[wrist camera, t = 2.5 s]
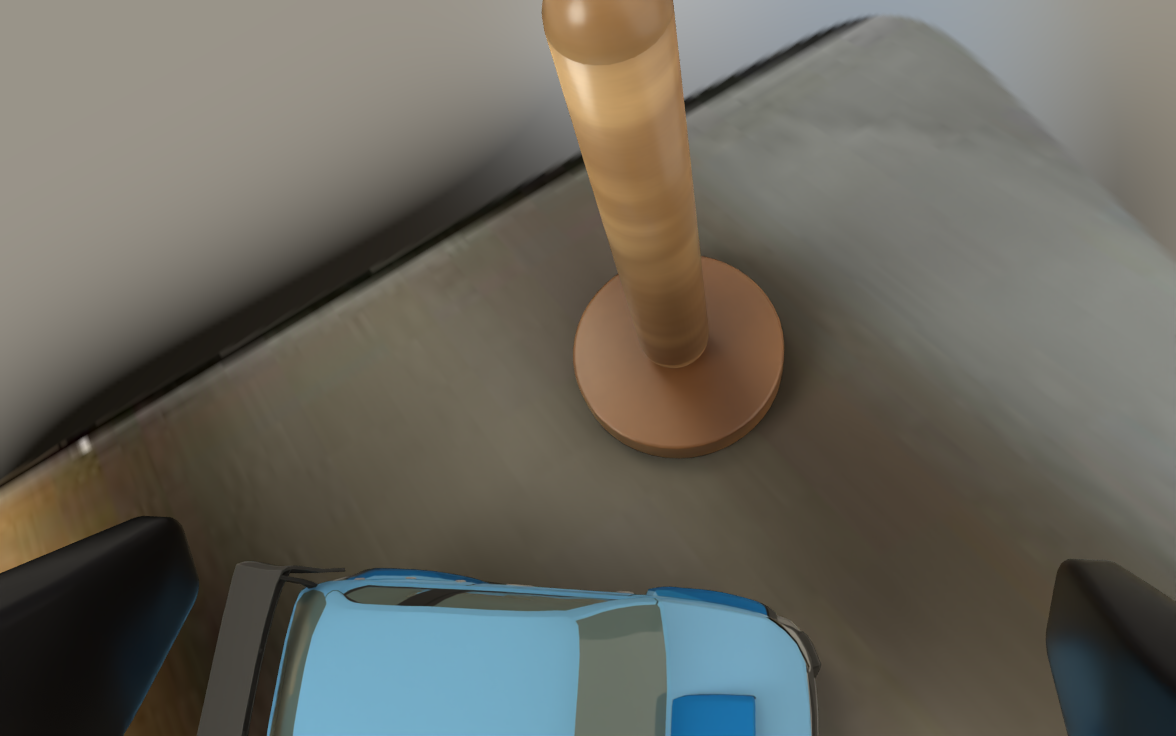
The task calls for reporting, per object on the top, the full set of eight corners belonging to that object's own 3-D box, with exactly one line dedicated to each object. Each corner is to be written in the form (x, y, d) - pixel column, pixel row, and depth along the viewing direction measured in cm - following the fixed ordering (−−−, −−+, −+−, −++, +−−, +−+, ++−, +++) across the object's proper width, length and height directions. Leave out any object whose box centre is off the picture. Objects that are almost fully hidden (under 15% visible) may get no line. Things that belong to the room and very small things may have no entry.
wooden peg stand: (657, 501, 22) (536, 231, 10) (541, 346, 24) (317, -39, 12) (827, 375, 23) (926, -42, 10) (698, 235, 25) (644, -254, 12)
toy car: (819, 878, 19) (845, 946, 13) (310, 820, 21) (163, 860, 16) (812, 599, 21) (833, 565, 15) (351, 575, 23) (234, 537, 18)
